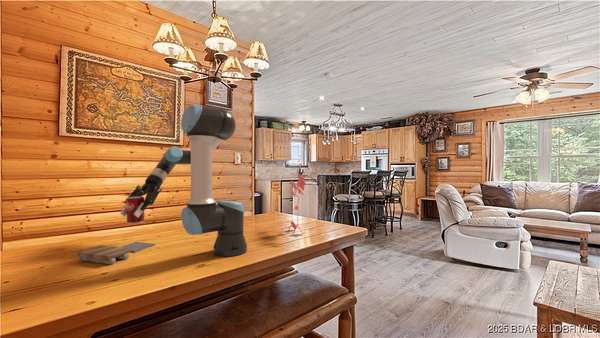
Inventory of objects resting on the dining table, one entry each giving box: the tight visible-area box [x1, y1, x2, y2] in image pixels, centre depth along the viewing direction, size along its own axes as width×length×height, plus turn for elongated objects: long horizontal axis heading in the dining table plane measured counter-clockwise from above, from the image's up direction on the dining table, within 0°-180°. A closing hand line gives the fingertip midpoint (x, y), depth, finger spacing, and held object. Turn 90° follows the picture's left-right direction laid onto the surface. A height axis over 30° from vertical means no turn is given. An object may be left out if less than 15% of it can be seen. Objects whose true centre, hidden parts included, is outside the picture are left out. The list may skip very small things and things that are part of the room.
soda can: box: [126, 196, 145, 225], centre depth 129 cm, size 7×7×12 cm
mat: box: [120, 241, 157, 253], centre depth 129 cm, size 12×12×1 cm
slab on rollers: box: [76, 244, 131, 265], centre depth 112 cm, size 16×10×4 cm, turn 75°
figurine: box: [287, 173, 307, 235], centre depth 161 cm, size 15×26×35 cm, turn 19°
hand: (129, 215), depth 125 cm, fingers closed on soda can, 7 cm apart
